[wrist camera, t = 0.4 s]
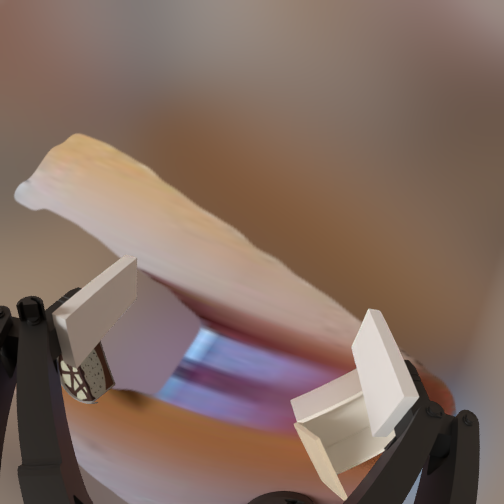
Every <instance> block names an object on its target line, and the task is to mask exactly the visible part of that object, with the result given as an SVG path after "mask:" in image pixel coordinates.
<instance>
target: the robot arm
mask: <svg viewBox="0 0 504 504" xmlns="http://www.w3.org/2000/svg"><path fill="white" fill-rule="evenodd" d="M136 300H137V258H136V257H132V256H129V255H125V256H123V257H122V258H121V259H119V260H118V261H117V262H116V263H114V264H113V265H111V266H110V267H109V268H108V269H106V270H105V271H104V272H102V273H101V274H100V275H99V276H97V277H96V278H95V279H93V280H92V281H91V282H90V283H88V284H87V285H86V286H85V287H83V288H75V289H73V290H70V291H69V292H68V293H66V294H65V295H64V296H63V297H61V298H60V299H59V300H58V301H56V302H55V303H54V304H53V305H51V306H50V307H49V308H48V309H46V310H45V309H44V305H43V301H42V299H41V298H39V297H36V296H29V297H25V298H23V299H21V300H20V301H19V302H18V303H17V305H16V306H17V310H18V314H19V318H16V317H12V316H11V313H10V309H9V308H8V307H6V306H0V468H1V459H2V451H3V443H4V437H5V431H6V426H7V420H8V415H9V410H10V406H11V402H12V398H13V394H14V390H15V386H16V388H17V416H18V431H19V441H20V448H21V456H22V465H20V466H18V478H19V484H20V488H21V493H22V497H23V501H24V504H93V502H92V501H91V499H90V497H89V495H88V493H87V491H86V488H85V485H84V482H83V479H82V476H81V473H80V470H79V467H78V463H77V460H76V456H75V452H74V449H73V445H72V441H71V436H70V432H69V428H68V423H67V418H66V413H65V407H64V401H63V395H62V388H61V381H60V373H59V363H58V360H57V358H58V356H59V355H60V354H61V353H62V357H63V360H64V363H66V364H68V365H70V366H72V367H74V368H76V369H77V368H78V367H79V366H80V364H81V363H82V362H83V361H84V360H85V358H86V357H87V356H88V355H89V354H90V352H91V351H92V350H93V349H94V348H95V346H96V345H97V344H98V343H99V342H100V341H101V339H102V338H103V337H104V336H105V335H106V333H107V332H108V331H109V330H110V329H111V328H112V327H113V325H114V324H115V323H116V322H117V321H118V320H119V319H120V318H121V316H122V315H123V314H124V313H125V312H126V311H127V310H128V308H129V307H130V306H131V305H132V304H133V303H134V302H135V301H136ZM351 348H352V351H353V355H354V359H355V363H356V367H357V371H358V375H359V379H360V383H361V387H362V391H363V395H364V400H365V404H366V409H367V413H368V418H369V423H370V427H371V432H372V437H387V436H388V435H389V434H390V433H391V432H392V431H393V429H394V431H395V435H396V436H395V437H394V438H393V439H392V440H391V441H390V442H389V443H388V444H387V445H386V447H385V448H384V449H385V451H384V452H383V454H382V455H381V456H380V458H379V459H378V461H377V462H376V463H375V465H374V466H373V467H372V469H371V470H370V471H369V473H368V474H367V475H366V477H365V478H364V479H363V480H362V482H361V483H360V484H359V485H358V487H357V488H356V489H355V490H354V491H353V492H352V494H351V495H350V496H349V497H348V498H347V499H346V501H345V502H344V503H343V504H402V503H403V502H404V500H405V498H406V497H407V495H408V493H409V492H410V490H411V488H412V486H413V485H414V483H415V481H416V479H417V477H418V475H419V473H420V472H421V469H422V468H423V469H422V474H421V478H420V482H419V486H418V490H417V494H416V497H415V501H414V504H476V500H477V490H478V478H479V451H480V450H479V449H480V446H479V445H480V444H479V422H478V419H477V417H476V415H475V414H473V413H472V412H470V411H469V410H462V411H460V412H459V414H458V415H457V416H456V417H455V416H451V415H447V414H445V413H444V410H443V409H442V407H441V406H440V405H439V404H437V403H436V402H433V401H430V400H429V397H428V395H427V393H426V390H425V388H424V386H423V384H422V382H421V379H420V377H419V376H418V372H417V370H416V368H415V367H414V365H413V364H412V363H411V362H410V361H409V360H403V357H402V355H401V353H400V351H399V349H398V346H397V344H396V342H395V340H394V338H393V336H392V334H391V332H390V330H389V327H388V325H387V324H386V321H385V319H384V318H383V315H382V313H381V312H380V311H379V310H373V309H368V311H367V313H366V316H365V318H364V320H363V323H362V325H361V327H360V329H359V332H358V334H357V336H356V338H355V340H354V343H353V345H352V347H351ZM16 383H17V385H16ZM248 504H314V503H313V502H312V501H311V500H310V499H309V498H308V497H306V496H304V495H302V494H299V493H295V492H285V491H282V492H272V493H267V494H264V495H261V496H259V497H257V498H255V499H253V500H252V501H250V502H249V503H248Z"/></svg>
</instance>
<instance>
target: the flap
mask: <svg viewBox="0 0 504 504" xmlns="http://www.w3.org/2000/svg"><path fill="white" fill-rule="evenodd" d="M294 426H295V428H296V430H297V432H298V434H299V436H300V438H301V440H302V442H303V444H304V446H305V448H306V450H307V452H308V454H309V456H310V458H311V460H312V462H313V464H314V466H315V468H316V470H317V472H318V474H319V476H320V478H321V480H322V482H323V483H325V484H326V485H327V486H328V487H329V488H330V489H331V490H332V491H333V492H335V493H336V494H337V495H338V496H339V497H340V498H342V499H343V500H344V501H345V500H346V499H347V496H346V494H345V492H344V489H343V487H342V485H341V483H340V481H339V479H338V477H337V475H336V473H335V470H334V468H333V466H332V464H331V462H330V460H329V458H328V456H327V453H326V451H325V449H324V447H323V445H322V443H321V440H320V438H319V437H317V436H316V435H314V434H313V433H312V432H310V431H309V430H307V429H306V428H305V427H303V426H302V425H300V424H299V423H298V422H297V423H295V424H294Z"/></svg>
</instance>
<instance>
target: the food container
mask: <svg viewBox="0 0 504 504" xmlns="http://www.w3.org/2000/svg"><path fill="white" fill-rule="evenodd" d="M57 360H58V363H59V373H60V381H61V385H62V386H63V388H64V389H65V390H66V392H67V393H68V394H69V395H70V396H71V397H73V398H74V399H76V400H78V401H80V402H83V403H87V404H95V403H98V402H94V401H96V400H97V399H98V398H99V397H101V396H102V395H103V394H104V393H106V392H107V391H108V390H109V389H111V388H112V387H113V386H114V385H115V382H114V380H113V377H112V374H111V371H110V368H109V366H108V363H107V360H106V357H105V354H104V351H103V347H102V344H101V341H100V342H99V343H98V344H97V345H96V346H95V348H94V349H93V350H92V351H91V352H90V354H89V355H88V356H87V357H86V358H85V360H84V361H83V362H82V363H81V364H80V366H79V367H78V368H77V369H76V368H74V367H72V366H70V365H68V364H66V363H64V360H63V357H62V353H61V354H60V355H59V356H58V358H57Z"/></svg>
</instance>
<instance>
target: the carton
mask: <svg viewBox="0 0 504 504" xmlns="http://www.w3.org/2000/svg"><path fill="white" fill-rule="evenodd" d="M290 401H291V404H292V407H293V411H294V414H295V417H296V420H297V422H298V423H299V424H300V425H302V426H303V427H305V428H306V429H307V430H309V431H310V432H312V433H313V434H314V435H316V436H317V437H319V438H320V440H321V443H322V445H323V447H324V449H325V451H326V453H327V456H328V458H329V460H330V462H331V464H332V466H333V468H334V470H335V473H336V475H338V474H340V473H342V472H344V471H346V470H349V469H351V468H353V467H355V466H357V465H359V464H361V463H363V462H365V461H367V460H369V459H371V458H372V457H374V456H376V455H378V454H380V453H382V452H383V451H385V449H384V448H385V447H386V445H387V444H388V443H389V442H390V441H391V440H392V439H393V438H394V437H395V436H396V435H395V431H394V429H393V431H392V432H391V433H390V434H389V435H388V436H387V437H372V432H371V427H370V423H369V418H368V413H367V409H366V404H365V400H364V395H363V391H362V387H361V383H360V379H359V375H358V371H357V369H355V370H353V371H351V372H349V373H347V374H345V375H343V376H341V377H339V378H337V379H335V380H333V381H331V382H329V383H327V384H325V385H323V386H321V387H319V388H317V389H314V390H312V391H310V392H308V393H306V394H303V395H301V396H299V397H296V398H294V399H292V400H290Z"/></svg>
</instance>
